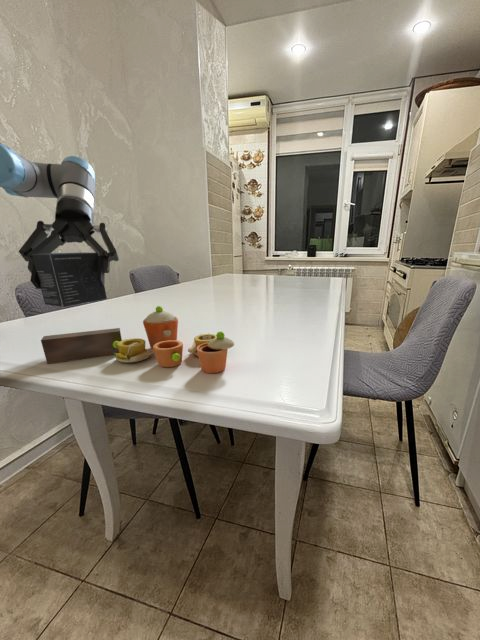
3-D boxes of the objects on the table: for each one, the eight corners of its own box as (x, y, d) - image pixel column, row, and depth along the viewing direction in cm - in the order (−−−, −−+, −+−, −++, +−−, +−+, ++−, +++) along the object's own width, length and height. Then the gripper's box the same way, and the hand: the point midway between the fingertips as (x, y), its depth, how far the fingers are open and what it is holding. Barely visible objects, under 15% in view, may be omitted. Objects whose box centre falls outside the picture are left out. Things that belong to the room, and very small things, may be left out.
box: (89, 297, 71) (81, 252, 67) (108, 299, 68) (100, 252, 64) (42, 304, 62) (30, 252, 58) (62, 307, 59) (50, 253, 55)
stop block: (47, 364, 58) (40, 340, 56) (49, 358, 60) (43, 336, 59) (124, 353, 64) (120, 331, 62) (123, 348, 66) (119, 327, 65)
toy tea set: (103, 363, 58) (94, 316, 55) (152, 340, 72) (147, 301, 69) (221, 380, 51) (219, 327, 48) (251, 351, 65) (250, 308, 62)
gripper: (131, 224, 76) (133, 292, 67) (25, 221, 70) (11, 296, 61) (125, 199, 69) (126, 271, 61) (7, 193, 63) (-11, 273, 54)
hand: (69, 284), depth 61 cm, fingers closed on box, 11 cm apart
